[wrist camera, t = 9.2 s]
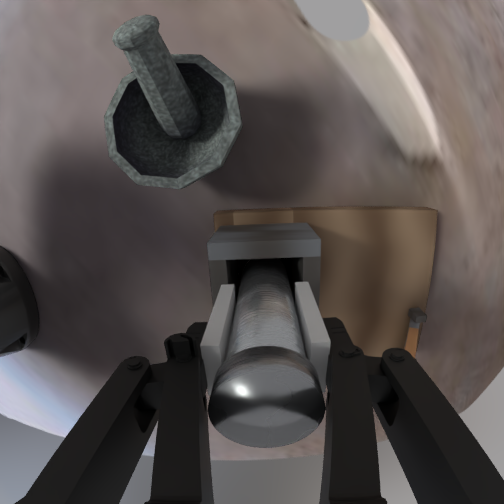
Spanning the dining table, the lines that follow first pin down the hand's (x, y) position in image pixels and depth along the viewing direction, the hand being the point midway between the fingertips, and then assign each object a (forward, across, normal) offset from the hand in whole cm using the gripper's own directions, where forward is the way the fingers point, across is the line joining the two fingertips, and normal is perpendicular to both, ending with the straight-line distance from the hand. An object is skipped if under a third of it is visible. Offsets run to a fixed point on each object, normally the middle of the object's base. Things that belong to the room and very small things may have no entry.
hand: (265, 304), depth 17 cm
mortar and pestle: (+10, -6, +12) cm, 17 cm away
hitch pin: (+5, 0, 0) cm, 5 cm away
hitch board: (+10, +6, -4) cm, 12 cm away
